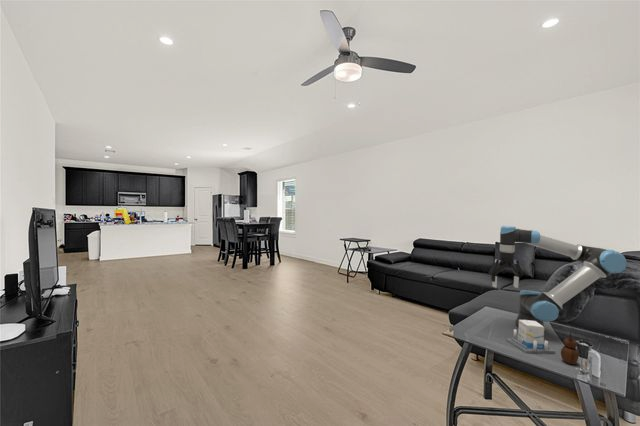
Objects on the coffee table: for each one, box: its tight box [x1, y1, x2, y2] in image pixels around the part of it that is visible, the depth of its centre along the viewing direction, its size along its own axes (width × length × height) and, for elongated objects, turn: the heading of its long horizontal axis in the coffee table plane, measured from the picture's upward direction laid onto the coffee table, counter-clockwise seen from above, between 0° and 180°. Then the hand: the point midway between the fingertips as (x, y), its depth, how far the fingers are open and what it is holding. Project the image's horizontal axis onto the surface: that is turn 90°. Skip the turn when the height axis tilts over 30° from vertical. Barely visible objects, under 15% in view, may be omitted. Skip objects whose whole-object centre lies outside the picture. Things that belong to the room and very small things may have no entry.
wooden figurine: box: [560, 332, 580, 365], centre depth 136 cm, size 7×6×15 cm
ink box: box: [517, 320, 545, 349], centre depth 151 cm, size 9×8×12 cm
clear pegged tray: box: [505, 328, 556, 354], centre depth 151 cm, size 16×15×6 cm
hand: (505, 287), depth 169 cm, fingers open, 13 cm apart
